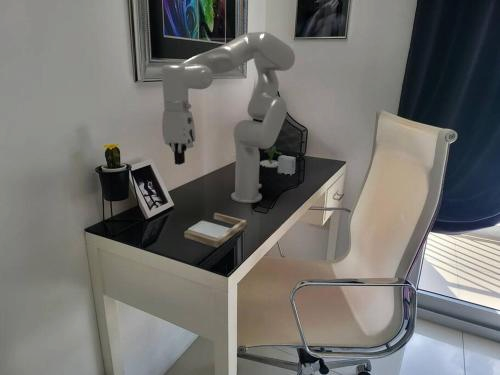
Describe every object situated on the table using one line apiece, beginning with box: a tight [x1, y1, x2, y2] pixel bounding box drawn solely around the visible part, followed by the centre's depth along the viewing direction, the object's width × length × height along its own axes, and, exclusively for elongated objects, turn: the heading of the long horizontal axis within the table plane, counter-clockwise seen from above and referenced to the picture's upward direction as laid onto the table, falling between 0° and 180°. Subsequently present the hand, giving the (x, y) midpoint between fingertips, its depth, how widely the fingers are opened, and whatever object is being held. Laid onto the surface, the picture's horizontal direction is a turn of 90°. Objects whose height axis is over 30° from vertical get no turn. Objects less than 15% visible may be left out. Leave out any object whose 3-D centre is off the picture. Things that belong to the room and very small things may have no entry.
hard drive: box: [187, 220, 232, 239], centre depth 111 cm, size 2×8×12 cm
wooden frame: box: [184, 212, 247, 248], centre depth 111 cm, size 17×12×2 cm
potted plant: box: [259, 145, 284, 168], centre depth 190 cm, size 12×12×10 cm
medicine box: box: [277, 154, 297, 176], centre depth 175 cm, size 8×4×9 cm, turn 58°
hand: (179, 163), depth 113 cm, fingers closed
